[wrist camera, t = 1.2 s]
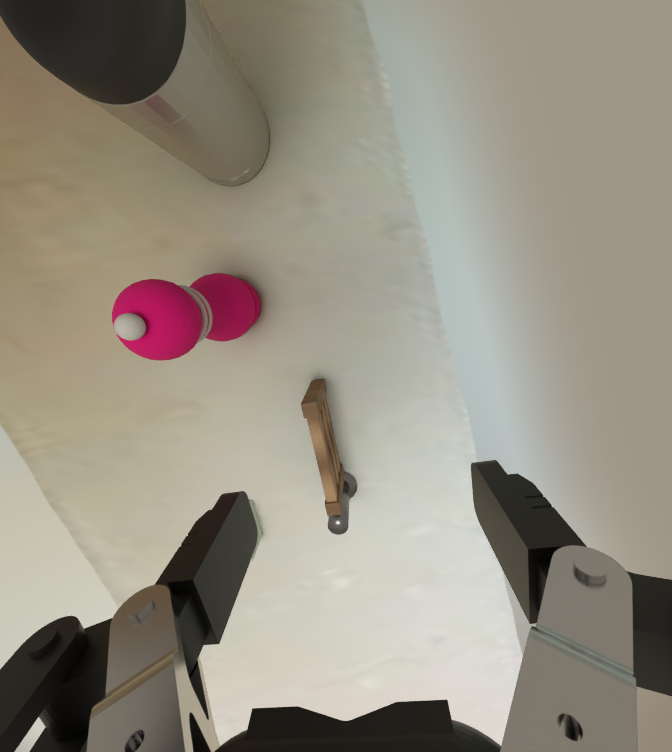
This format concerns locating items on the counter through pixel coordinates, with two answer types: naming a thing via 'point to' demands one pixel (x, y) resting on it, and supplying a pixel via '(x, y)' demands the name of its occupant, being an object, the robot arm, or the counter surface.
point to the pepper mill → (183, 314)
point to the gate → (324, 445)
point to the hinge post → (343, 506)
